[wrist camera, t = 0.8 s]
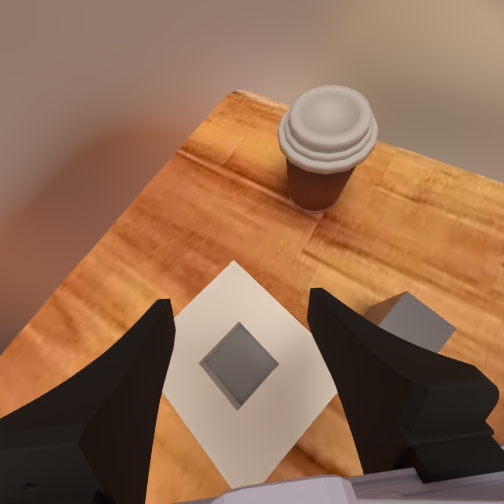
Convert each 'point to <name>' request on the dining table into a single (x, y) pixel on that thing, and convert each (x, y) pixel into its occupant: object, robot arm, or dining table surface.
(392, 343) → the robot arm
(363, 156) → the coffee cup
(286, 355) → the socket plate
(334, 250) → the dining table surface
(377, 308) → the plug
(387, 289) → the dining table surface
